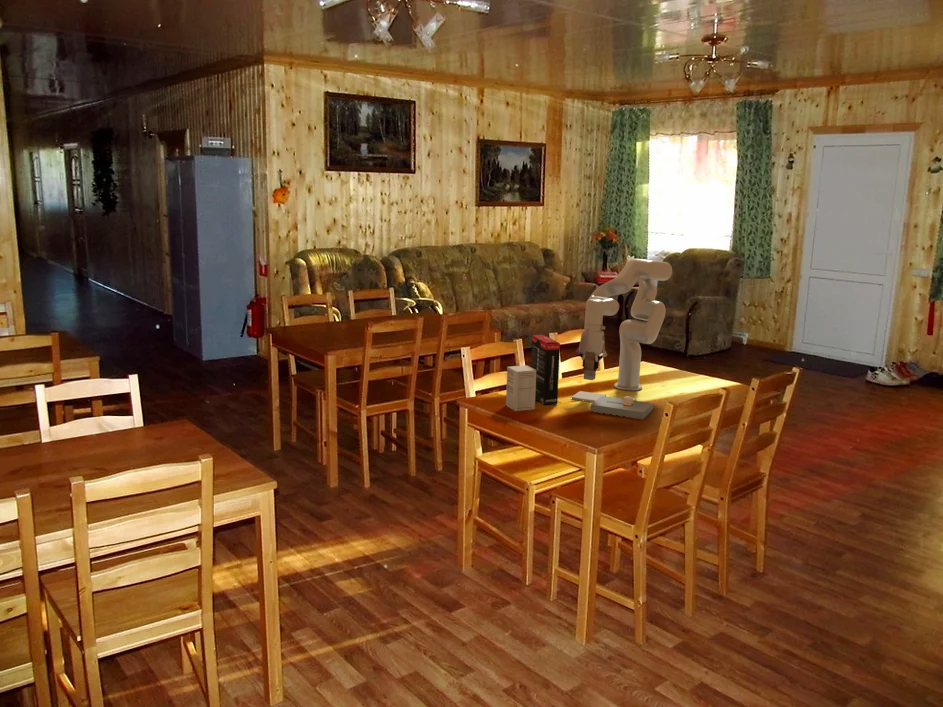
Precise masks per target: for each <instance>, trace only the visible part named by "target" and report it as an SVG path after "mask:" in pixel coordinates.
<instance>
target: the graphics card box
mask: <svg viewBox="0 0 943 707" xmlns="http://www.w3.org/2000/svg"><path fill="white" fill-rule="evenodd" d="M560 349H561V342H559V341H557V340H554V339H552V338H551V337H548V336H547V335H545V334H532V336H531V357H530V367H531V368H533V369H535V370H536V392H535V400H537V401H538V403H540V402H541V403H540V404H542V405H543V406H551V405H552V404H553V405H558V396H559V378H560V377H559V374H560V354H561V353H560V352H561V350H560Z"/></svg>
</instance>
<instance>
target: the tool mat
mask: <svg viewBox="0 0 943 707" xmlns="http://www.w3.org/2000/svg"><path fill="white" fill-rule="evenodd" d="M601 396H607V394H602V393H595V392H589V391H582V390H579V391H578V392H576V393H575V394H573V395H572V396H571V397H570V399H571V398H572V399H571V400H573V399H578V400H577V401H579V400H584V401H583V402H586V401H590V402H589V403H593V402H594V401H596V400H597V399H598V398H600V397H601Z"/></svg>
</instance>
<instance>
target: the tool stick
mask: <svg viewBox="0 0 943 707" xmlns="http://www.w3.org/2000/svg"><path fill="white" fill-rule="evenodd" d="M594 362H595V354H594V352H587V351H586V352H585V366H584V369H583V380H589V381H594V380H595V379H596V372H597V370H596V371H594Z"/></svg>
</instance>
